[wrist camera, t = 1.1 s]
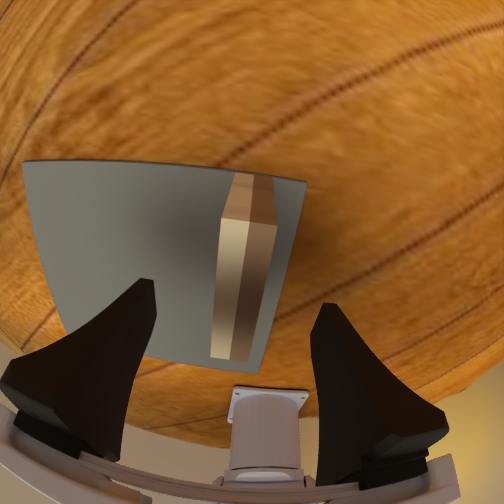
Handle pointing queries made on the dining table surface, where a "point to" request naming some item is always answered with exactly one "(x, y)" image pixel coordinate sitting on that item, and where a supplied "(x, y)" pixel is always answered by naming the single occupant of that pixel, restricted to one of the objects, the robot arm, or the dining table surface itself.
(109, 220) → the mat
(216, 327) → the tile
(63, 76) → the dining table surface
